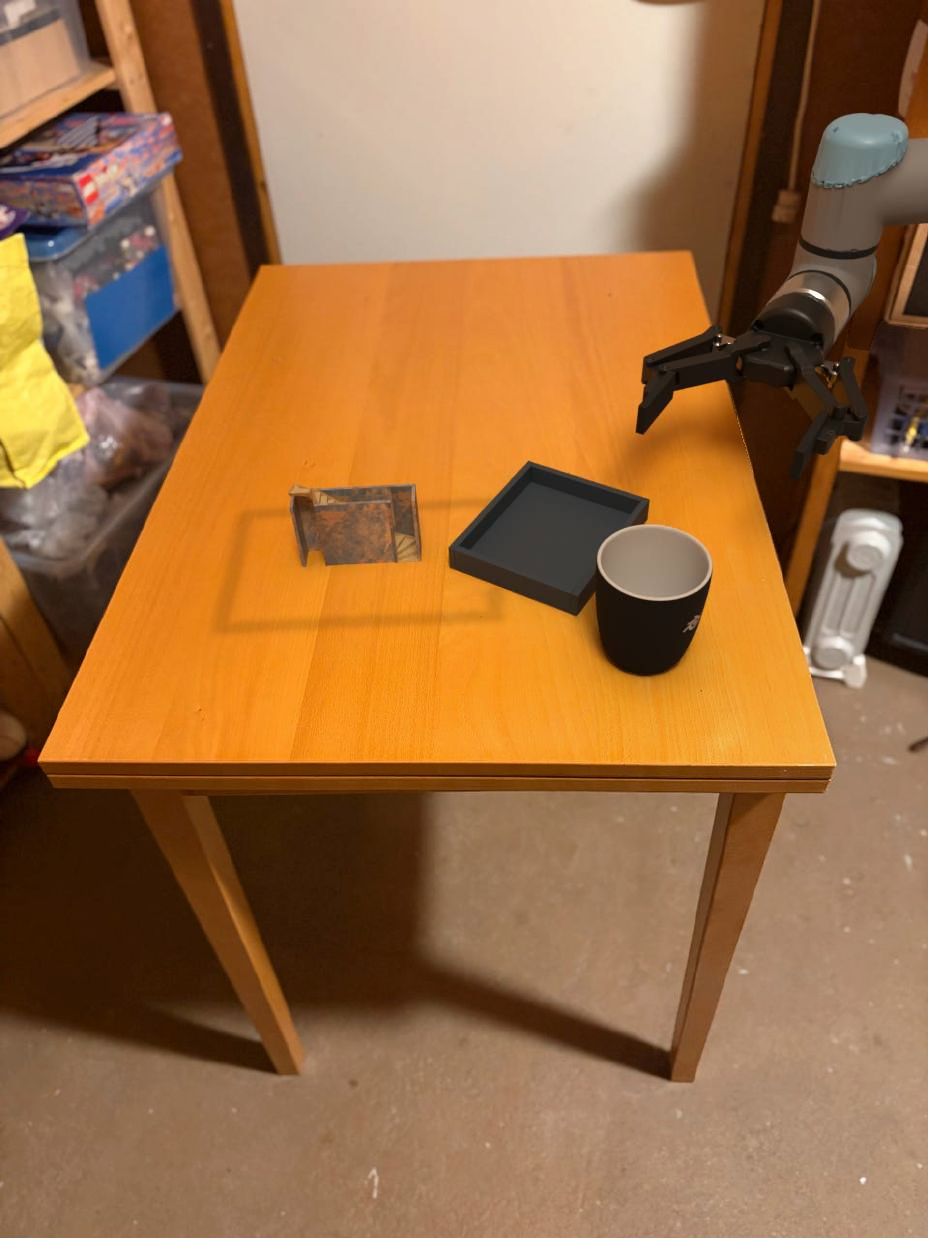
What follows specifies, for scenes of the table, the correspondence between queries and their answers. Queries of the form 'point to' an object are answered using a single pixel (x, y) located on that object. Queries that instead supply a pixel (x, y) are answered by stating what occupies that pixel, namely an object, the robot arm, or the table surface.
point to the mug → (650, 596)
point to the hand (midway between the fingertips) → (715, 442)
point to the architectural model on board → (357, 523)
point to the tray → (545, 535)
